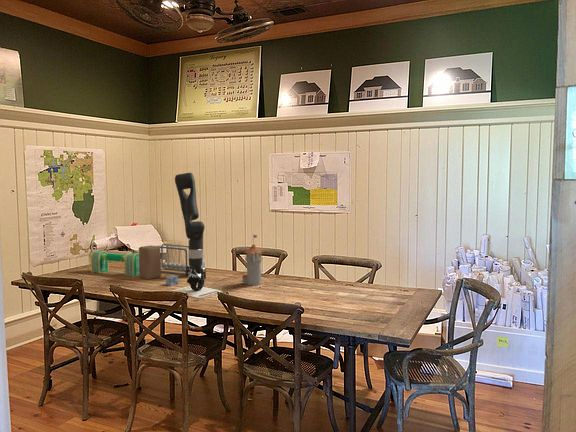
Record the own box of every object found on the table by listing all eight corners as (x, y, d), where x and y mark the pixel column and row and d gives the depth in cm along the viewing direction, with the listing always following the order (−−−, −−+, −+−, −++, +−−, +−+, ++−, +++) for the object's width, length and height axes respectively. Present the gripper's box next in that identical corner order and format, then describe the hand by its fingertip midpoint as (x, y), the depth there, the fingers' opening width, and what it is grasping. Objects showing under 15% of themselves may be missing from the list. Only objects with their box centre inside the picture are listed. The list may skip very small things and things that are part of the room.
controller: (206, 289, 272) (206, 272, 271) (191, 293, 261) (191, 276, 260) (200, 288, 274) (200, 271, 273) (185, 292, 263) (185, 275, 262)
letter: (194, 285, 282) (194, 284, 282) (222, 291, 267) (222, 290, 267) (170, 291, 268) (170, 290, 268) (198, 298, 253) (198, 297, 253)
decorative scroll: (91, 272, 319) (90, 250, 318) (100, 270, 327) (99, 248, 326) (133, 276, 306) (132, 254, 304) (142, 274, 314) (141, 252, 312)
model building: (259, 286, 277) (258, 236, 275) (239, 286, 280) (239, 235, 277) (265, 281, 291) (264, 233, 288) (246, 280, 293) (245, 232, 291)
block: (148, 279, 296) (147, 248, 295) (139, 277, 302) (138, 246, 301) (161, 277, 304) (160, 246, 303) (152, 275, 310) (151, 245, 309)
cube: (172, 283, 287) (172, 275, 287) (178, 284, 284) (178, 276, 284) (166, 284, 283) (166, 276, 283) (171, 286, 280) (171, 277, 280)
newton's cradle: (151, 271, 323) (151, 245, 321) (162, 268, 332) (161, 243, 330) (186, 275, 309) (186, 248, 308) (196, 272, 318) (196, 246, 317)
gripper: (209, 257, 264) (209, 285, 266) (192, 254, 273) (192, 282, 274) (198, 259, 258) (199, 288, 260) (181, 256, 267) (182, 284, 268)
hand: (196, 285), depth 267 cm, fingers open, 8 cm apart
